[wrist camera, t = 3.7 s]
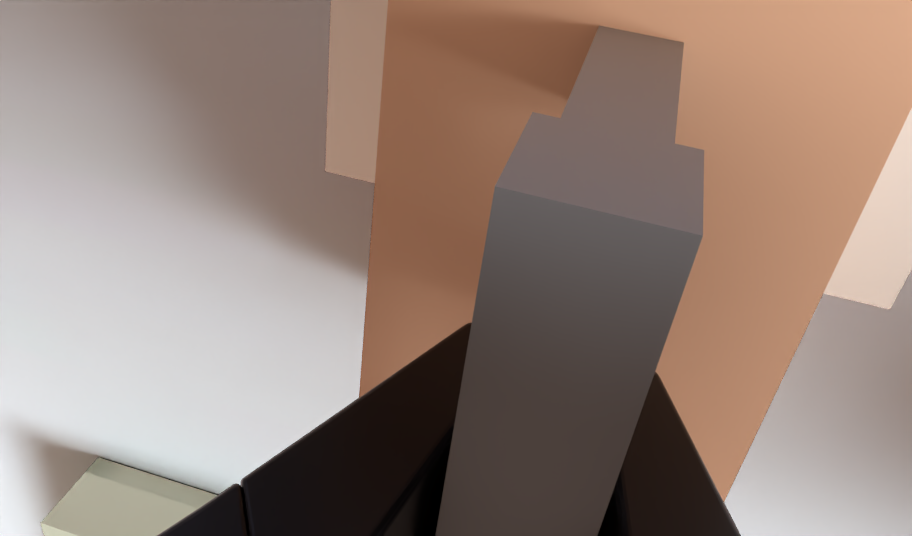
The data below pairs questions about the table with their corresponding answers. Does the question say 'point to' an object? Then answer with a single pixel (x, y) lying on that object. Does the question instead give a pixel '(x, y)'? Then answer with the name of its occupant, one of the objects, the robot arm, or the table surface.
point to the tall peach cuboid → (616, 222)
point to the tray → (121, 503)
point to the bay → (356, 139)
